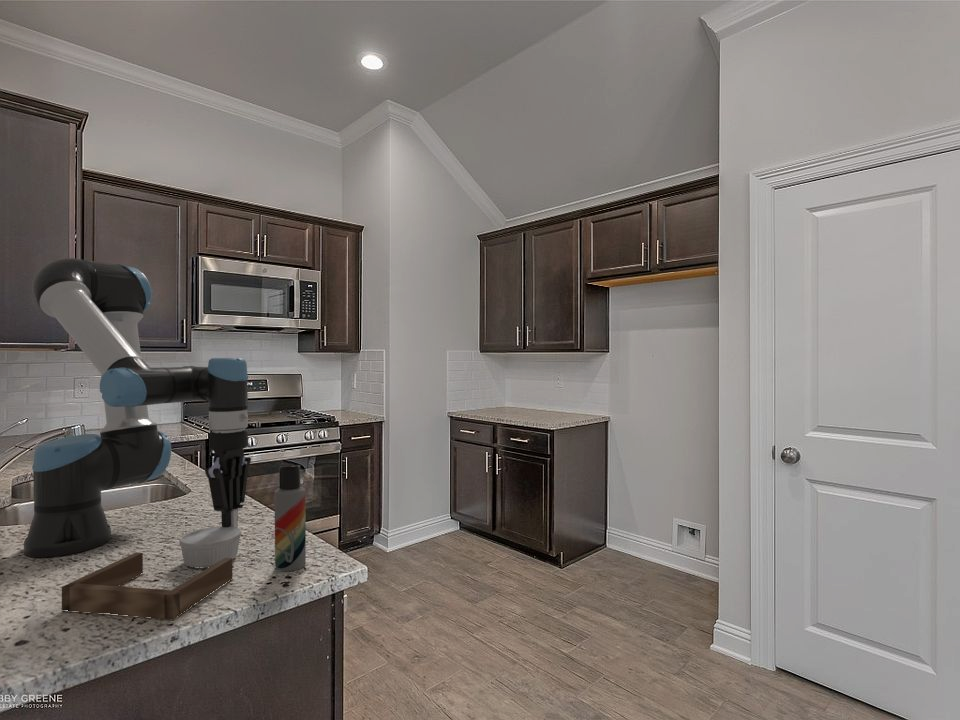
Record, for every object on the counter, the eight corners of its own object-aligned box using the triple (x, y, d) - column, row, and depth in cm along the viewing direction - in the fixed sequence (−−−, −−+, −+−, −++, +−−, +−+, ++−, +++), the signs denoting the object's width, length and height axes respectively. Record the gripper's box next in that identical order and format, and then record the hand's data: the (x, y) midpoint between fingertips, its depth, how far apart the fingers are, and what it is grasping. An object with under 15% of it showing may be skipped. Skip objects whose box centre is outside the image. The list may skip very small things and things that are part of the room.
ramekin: (199, 549, 114) (199, 525, 114) (251, 550, 113) (251, 525, 113) (166, 571, 102) (166, 543, 102) (224, 571, 102) (223, 544, 102)
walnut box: (61, 611, 86) (61, 586, 86) (135, 573, 101) (135, 552, 101) (173, 620, 83) (172, 594, 83) (232, 579, 98) (232, 558, 98)
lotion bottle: (275, 574, 101) (274, 468, 101) (274, 563, 106) (273, 463, 106) (307, 569, 103) (306, 466, 103) (304, 558, 108) (303, 460, 108)
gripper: (226, 435, 107) (228, 552, 107) (261, 426, 120) (262, 530, 120) (192, 434, 108) (193, 550, 108) (230, 425, 121) (231, 529, 121)
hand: (230, 540), depth 114 cm, fingers closed
